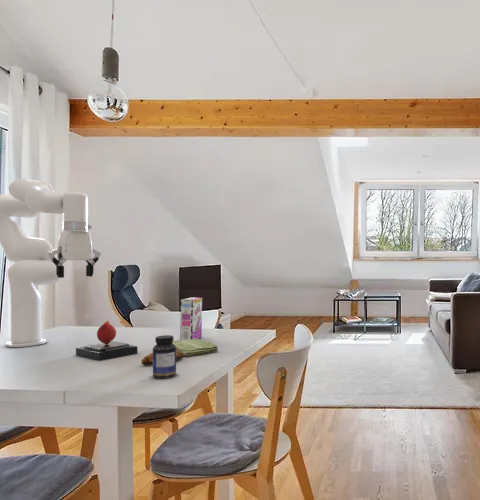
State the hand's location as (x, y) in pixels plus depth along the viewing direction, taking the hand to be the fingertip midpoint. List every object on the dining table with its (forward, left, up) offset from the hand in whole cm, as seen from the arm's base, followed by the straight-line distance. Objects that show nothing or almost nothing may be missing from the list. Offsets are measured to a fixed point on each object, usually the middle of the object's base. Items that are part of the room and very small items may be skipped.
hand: (75, 276), depth 166 cm
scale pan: (+13, +4, -24) cm, 27 cm away
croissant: (+40, +7, -26) cm, 48 cm away
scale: (+13, +4, -26) cm, 29 cm away
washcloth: (+33, +23, -26) cm, 48 cm away
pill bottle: (+55, -3, -26) cm, 61 cm away
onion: (+13, +4, -23) cm, 27 cm away
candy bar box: (+15, +37, -26) cm, 48 cm away
